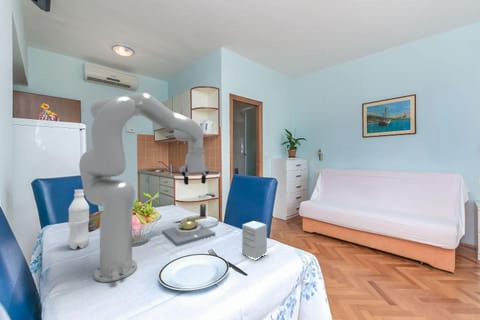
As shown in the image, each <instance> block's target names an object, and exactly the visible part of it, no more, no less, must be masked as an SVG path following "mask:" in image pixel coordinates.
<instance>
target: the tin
mask: <svg viewBox="0 0 480 320" xmlns="http://www.w3.org/2000/svg"><path fill="white" fill-rule="evenodd" d="M102 212H103V210H99V211H97V212H95V213H91V214H89V223H88V231H95V230H98V229H100V218H101V215H102Z"/></svg>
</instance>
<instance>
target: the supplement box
mask: <svg viewBox="0 0 480 320" xmlns="http://www.w3.org/2000/svg"><path fill="white" fill-rule="evenodd" d="M267 225H268V224H265V223H263V222H259V221H255V220H252V221H249V222H246V223H242V226H241V227H242V229H241V230H242V232H241V233H242V234H241V235H242V237H241V240H242V243H241V245H242V246H241V248H242V249H241V253H242V254H244V255H247V256H250V257H253V258H255V259H256V258H258V257H260V256H262V255H263V254H265V253H266V252H268V244H267V243H268V241H267V240H268V238H267V236H268V235H267V234H268V232H267V231H268V230H267V229H268V226H267ZM244 255H243V256H244Z"/></svg>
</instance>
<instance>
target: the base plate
mask: <svg viewBox="0 0 480 320" xmlns="http://www.w3.org/2000/svg"><path fill="white" fill-rule="evenodd" d="M161 232H162V234H163V235H164V237H166V238H167V239H168V240H169V241H170V242H171V243H172V244H174V245H175V246H176V247H178V246H179V247H180V246H182V245H186V244H190V243H193V242H198V241H201V239H202V240H205V239H208V237H209V238H212V237H211V236H213V237H216V232H215V231H213V230H211V229H209V228H207V227H206V226H204V225H202V224H200V223H199V222H198V225H195V229H194V230H189V231H185V230H182V228H179V225H178V226H175V227H170V228H165V229H162V231H161ZM204 238H205V239H204Z"/></svg>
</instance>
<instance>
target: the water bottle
mask: <svg viewBox="0 0 480 320" xmlns="http://www.w3.org/2000/svg"><path fill="white" fill-rule="evenodd" d="M73 196H74V198H73V200H72V201H71V204H70V205H69V207H68V226H69V237H68V245H69V247H70V248H71V250H77V248H78V247H79V249H83V248H85V247H86V246H88V244H89V242H90V233H89V230H88V223H89V215H90V205H89V203H88V202H87V199H85V193H84V189H83V188H82V189H81V188H79V189H74V194H73Z"/></svg>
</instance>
